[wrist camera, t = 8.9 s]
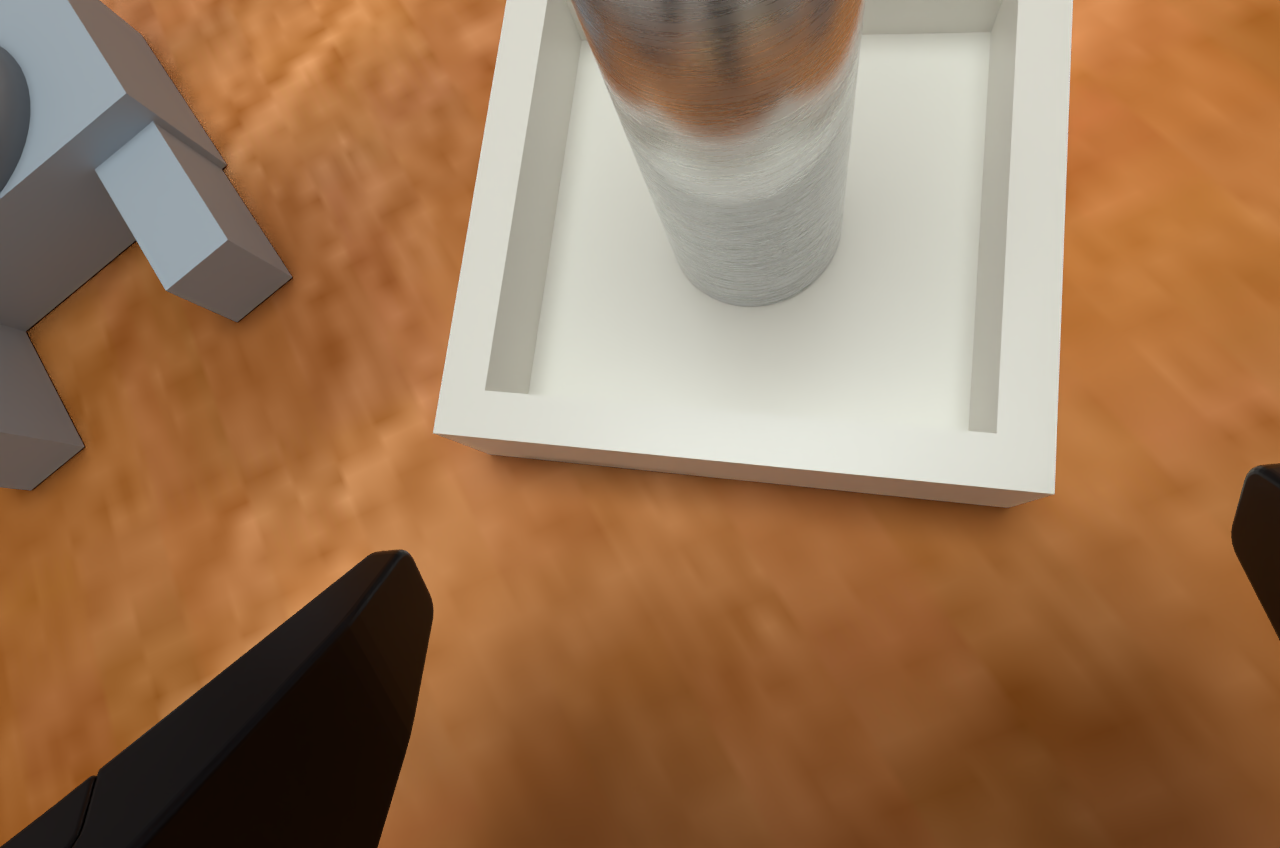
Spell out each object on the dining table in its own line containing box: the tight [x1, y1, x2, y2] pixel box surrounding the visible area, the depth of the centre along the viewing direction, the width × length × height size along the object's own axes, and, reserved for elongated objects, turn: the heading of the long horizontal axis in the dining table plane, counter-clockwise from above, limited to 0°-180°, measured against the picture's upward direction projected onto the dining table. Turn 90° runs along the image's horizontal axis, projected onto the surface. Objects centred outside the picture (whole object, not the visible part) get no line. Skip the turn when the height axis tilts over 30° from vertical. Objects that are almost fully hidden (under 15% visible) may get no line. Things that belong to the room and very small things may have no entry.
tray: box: [433, 0, 1073, 508], centre depth 17 cm, size 12×12×3 cm
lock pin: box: [571, 0, 865, 307], centre depth 12 cm, size 5×5×14 cm
